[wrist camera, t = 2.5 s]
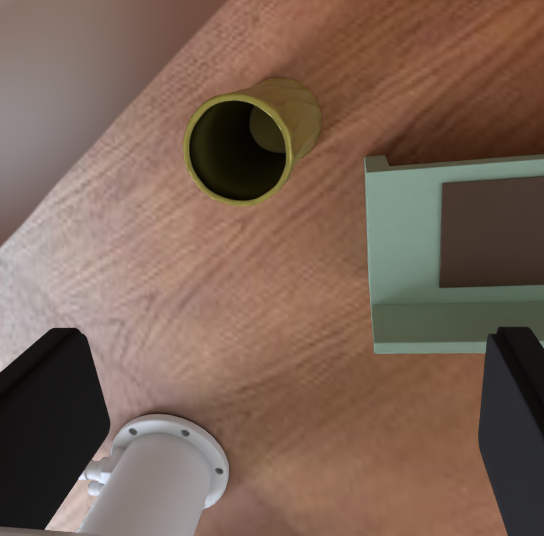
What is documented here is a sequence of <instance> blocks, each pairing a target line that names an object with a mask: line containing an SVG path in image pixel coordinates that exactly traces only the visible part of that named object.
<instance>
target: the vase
mask: <svg viewBox="0 0 544 536" xmlns="http://www.w3.org/2000/svg"><path fill="white" fill-rule="evenodd" d="M320 130H321V112H320V108H319V105H318V103H317V101H316V99H315V97H314V96H313V94H312V93H311V92H310V90H309V89H308V88H306V87H305V86H304V85H302V84H301V83H299V82H297V81H294V80H292V79H288V78H271V79H267V80H264V81H262V82H260V83H259V84H257V85H255V86H253V87H251V88H248V89H243V90H239V91H236V92H232V93H227V94H223V95H218V96H215V97H212V98H210V99H209V100H207V101H206V102H205V103H203V104H202V105H201V106H200V107H199V108H198V109H197V111H196V112H195V113H194V114H193V115H192V117H191V119H190V121H189V123H188V126H187V129H186V132H185V136H184V141H183V154H184V160H185V164H186V167H187V169H188V171H189V173H190V175H191V177H192V179H193V180H194V182H195V183H196V185H197V186H198V187H199V188H200V190H202V191H203V192H204V193H205V194H206V195H208V196H209V197H211V198H213V199H214V200H217V201H219V202H222V203H225V204H229V205H233V206H251V205H257V204H260V203H262V202H264V201H265V200H267V199H268V198H270V197H271V196H272V195H274V194H275V193H276V192H277V191H279V190H280V189H281V187H282V186H283V185H284V183H285V182H287V180H288V178H289V176H290V174H291V172H292V170H293V168H294V167H295V165H296V164H297V162H298V161H299V160H300V159H301V158H303V157H304V156H305V155H307V154H308V153H309V152H310V151H311V150H312V148H313V147H314V145H315V143H316V141H317V139H318V136H319V133H320Z"/></svg>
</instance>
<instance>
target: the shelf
mask: <svg viewBox="0 0 544 536" xmlns="http://www.w3.org/2000/svg"><path fill="white" fill-rule="evenodd" d="M364 164H365V192H366V221H367V249H368V278H369V292H370V306H371V318H372V332H373V345H374V353H375V354H402V353H486V343H487V337H488V334H496V332H497V329H498V328H499V327H529V328H530V329H531V330H532V331H533V333H534V334H535V336H536V337H537V339H538V340H539V342H540V343H541V345H542V346H543V348H544V154H539V155H526V156H513V157H501V158H488V159H475V160H462V161H450V162H437V163H424V164H411V165H399V166H389V164H388V162H387V159H386V157H385V155H377V156H365V157H364Z"/></svg>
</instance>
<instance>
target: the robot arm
mask: <svg viewBox="0 0 544 536" xmlns="http://www.w3.org/2000/svg"><path fill="white" fill-rule="evenodd" d="M109 430H110V418H109V415H108V411H107V407H106V404H105V400H104V397H103V393H102V390H101V386H100V383H99V379H98V375H97V372H96V368H95V365H94V361H93V358H92V354H91V350H90V347H89V343H88V340H87V337H86V336H85V335H84V334H81V332H80V331H79V330H78V329H77V328H52V329H51V330H49V331H48V332H47V333H46V334H44V335H43V336H42V337H41V338H40V339H39V340H37V341H36V342H35V343H34V344H33V345H32V346H30V347H29V348H28V349H27V350H26V351H25V352H23V353H22V354H21V355H20V356H19V357H18V358H17V359H15V360H14V361H13V362H12V363H11V364H10V365H8V366H7V367H6V368H5V369H4V370H3V371H1V372H0V536H194V533H195V530H196V527H197V524H198V521H199V518H200V515H201V512H202V510H203V509H206V508H208V507H210V506H211V505H213V504H214V503H216V502H217V501H218V500H219V499H220V498H221V496H222V494H223V493H224V491H225V489H226V485H227V482H228V478H229V465H228V460H227V458H226V455H225V453H224V451H223V449H222V448H221V446H220V444H219V443H218V442H217V441H216V440H215V439H214V438H213V436H211V435H210V434H209V433H208V432H207V431H205V430H204V429H203V428H201V427H200V426H198V425H196V424H195V423H193V422H190V421H188V420H186V419H183V418H180V417H176V416H172V415H165V414H150V415H145V416H141V417H138V418H135V419H133V420H131V421H129V422H128V423H127V424H126V425H125V426H123V427H122V429H121V430H120V431H119V433H118V434H117V436H116V438H115V439H114V441H113V443H112V447H111V457H104V458H102V459H101V460H100V461H94V460H91V459H92V458H93V456H94V455H95V453H96V452H97V450H98V449H99V447H100V446H101V444H102V443H103V441H104V440H105V438H106V437H107V435H108V433H109ZM478 440H479V447H480V452H481V455H482V458H483V461H484V464H485V467H486V470H487V473H488V476H489V479H490V482H491V485H492V488H493V492H494V495H495V498H496V501H497V504H498V507H499V510H500V513H501V516H502V519H503V522H504V525H505V528H506V531H507V534H508V536H544V348H543V346H542V345H541V343H540V342H539V340H538V339H537V337H536V336H535V334H534V333H533V331H532V330H531V329H530V328H529V327H499V328H498V329H497V332H496V334H488V337H487V343H486V354H485V365H484V377H483V388H482V399H481V410H480V421H479V432H478ZM78 479H79V480H90V479H97V481H91V482H90V484H89V486H88V494H89V495H98V497H97V498H96V500H95V502H94V503H93V505H92V507H91V508H90V510H89V512H88V513H87V515H86V517H85V518H84V520H83V522H82V523H81V525H80V527H79V528H78V530H77V532H76V533H75V532H62V531H49V530H44V529H45V528H46V526H47V525H48V523H49V522H50V520H51V519H52V517H53V516H54V515H55V513H56V512H57V510H58V509H59V507H60V506H61V504H62V503H63V501H64V500H65V498H66V497H67V495H68V494H69V492H70V491H71V489H72V488H73V486H74V485H75V483H76V482H77V480H78Z"/></svg>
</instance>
